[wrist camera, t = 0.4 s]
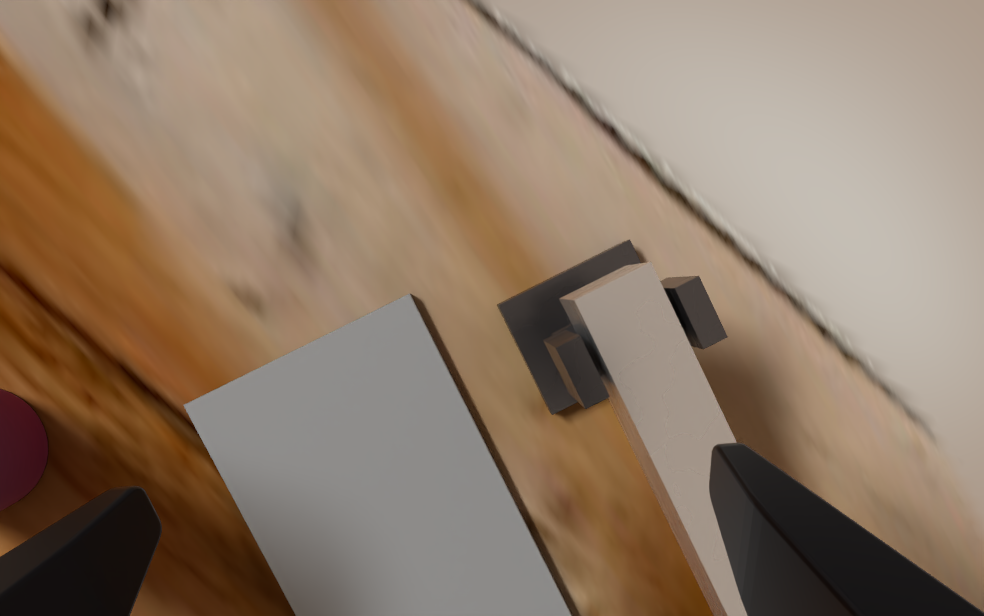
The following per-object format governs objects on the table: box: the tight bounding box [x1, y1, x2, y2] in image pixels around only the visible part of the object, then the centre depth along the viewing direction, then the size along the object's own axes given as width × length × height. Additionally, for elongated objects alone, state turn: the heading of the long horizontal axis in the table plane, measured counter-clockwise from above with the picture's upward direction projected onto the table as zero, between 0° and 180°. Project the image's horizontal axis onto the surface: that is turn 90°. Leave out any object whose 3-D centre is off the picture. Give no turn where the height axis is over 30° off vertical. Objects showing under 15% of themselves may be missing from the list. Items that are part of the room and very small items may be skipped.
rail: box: [560, 262, 748, 616], centre depth 18 cm, size 23×2×2 cm, turn 26°
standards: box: [497, 240, 727, 415], centre depth 20 cm, size 24×6×7 cm, turn 26°
